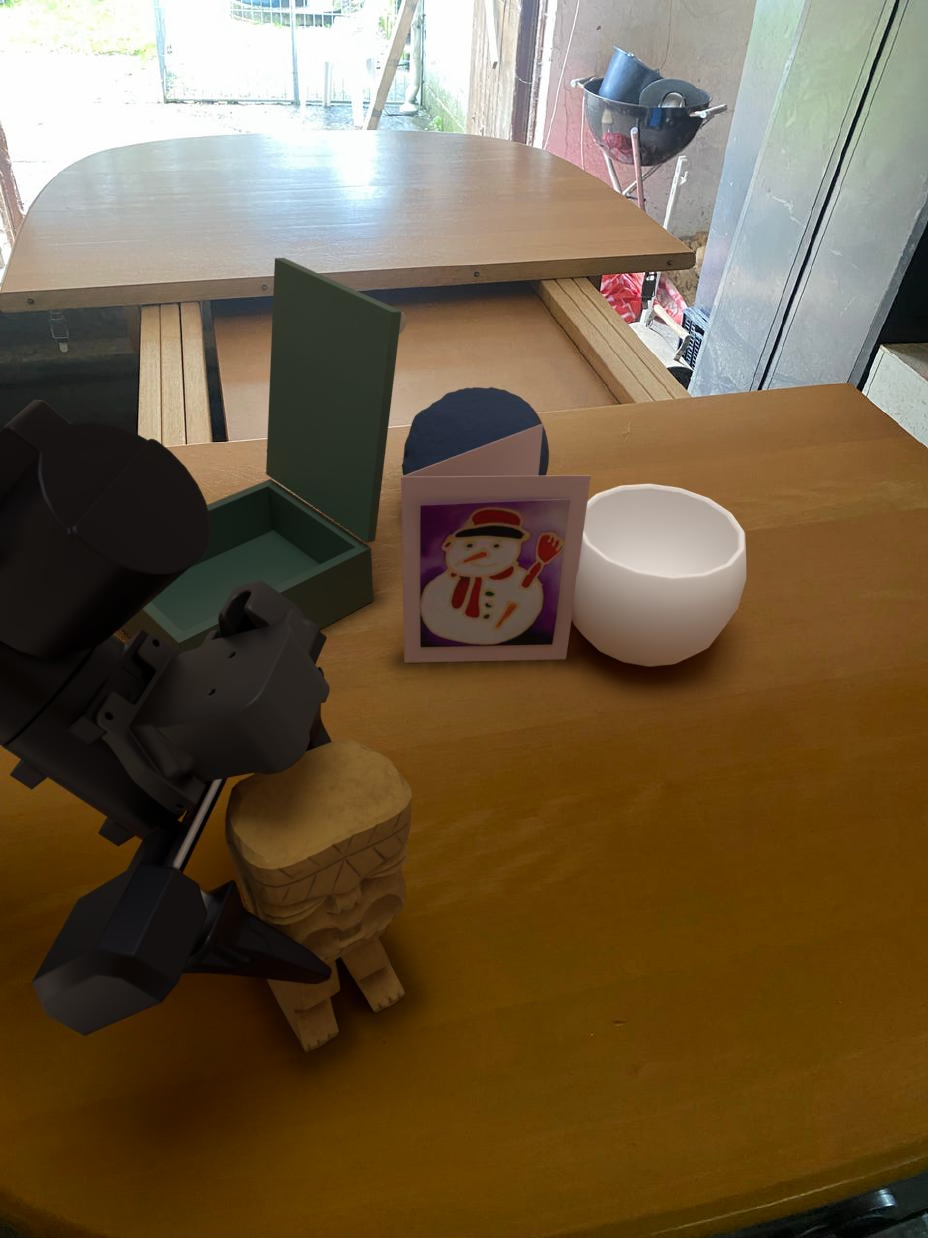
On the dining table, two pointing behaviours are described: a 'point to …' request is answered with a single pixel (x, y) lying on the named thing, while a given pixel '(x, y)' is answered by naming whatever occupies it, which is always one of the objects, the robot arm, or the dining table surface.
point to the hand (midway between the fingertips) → (349, 896)
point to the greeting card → (490, 555)
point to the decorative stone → (468, 426)
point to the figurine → (325, 870)
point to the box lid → (330, 394)
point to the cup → (657, 573)
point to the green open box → (262, 566)
